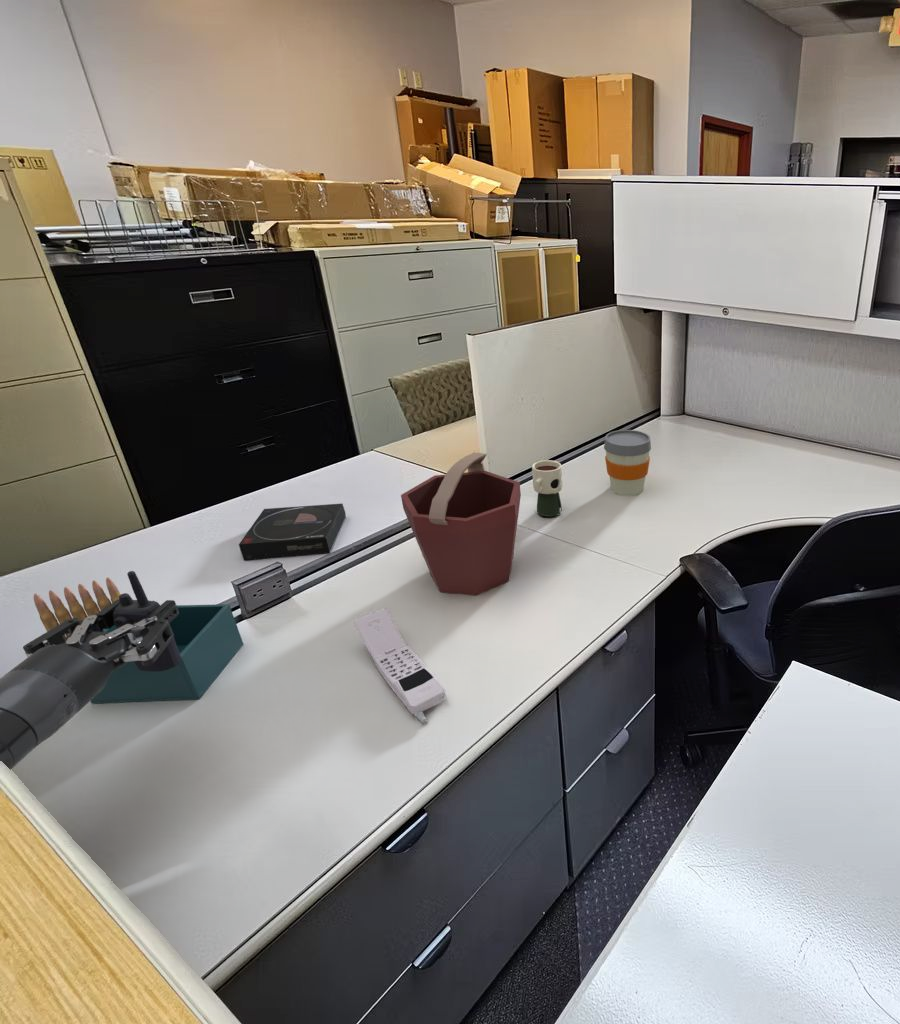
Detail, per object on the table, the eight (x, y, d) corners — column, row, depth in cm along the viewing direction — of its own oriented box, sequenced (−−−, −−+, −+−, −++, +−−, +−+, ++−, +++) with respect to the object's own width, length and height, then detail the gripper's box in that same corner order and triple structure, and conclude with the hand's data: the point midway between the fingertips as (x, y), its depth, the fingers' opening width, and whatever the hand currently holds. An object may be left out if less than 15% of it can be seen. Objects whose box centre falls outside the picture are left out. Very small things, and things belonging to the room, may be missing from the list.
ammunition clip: (140, 629, 109) (115, 573, 104) (140, 635, 108) (114, 578, 103) (59, 651, 104) (27, 592, 98) (57, 657, 102) (25, 598, 97)
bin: (91, 703, 94) (68, 660, 90) (148, 647, 106) (130, 606, 102) (199, 699, 96) (181, 656, 92) (243, 644, 107) (229, 603, 103)
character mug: (552, 525, 150) (549, 476, 144) (526, 519, 152) (522, 471, 146) (571, 506, 159) (570, 459, 153) (547, 501, 161) (544, 455, 155)
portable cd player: (346, 517, 149) (342, 502, 147) (330, 553, 134) (326, 537, 132) (269, 522, 145) (265, 507, 143) (244, 560, 130) (238, 544, 128)
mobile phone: (385, 605, 109) (450, 679, 94) (392, 632, 112) (455, 708, 96) (350, 620, 105) (411, 699, 90) (357, 647, 108) (418, 728, 93)
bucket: (466, 536, 143) (452, 434, 132) (551, 554, 138) (544, 451, 126) (391, 592, 123) (368, 478, 111) (488, 617, 117) (474, 500, 105)
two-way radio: (189, 658, 85) (152, 566, 78) (164, 680, 81) (123, 586, 74) (149, 655, 85) (108, 563, 78) (122, 678, 81) (77, 583, 74)
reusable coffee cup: (596, 492, 167) (595, 440, 160) (618, 476, 177) (618, 426, 170) (637, 502, 163) (638, 449, 156) (657, 484, 173) (659, 434, 166)
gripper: (94, 672, 65) (197, 582, 80) (-53, 671, 64) (80, 580, 79) (120, 723, 69) (214, 628, 84) (-19, 723, 68) (102, 627, 83)
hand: (148, 605), depth 81 cm, fingers closed on two-way radio, 5 cm apart
